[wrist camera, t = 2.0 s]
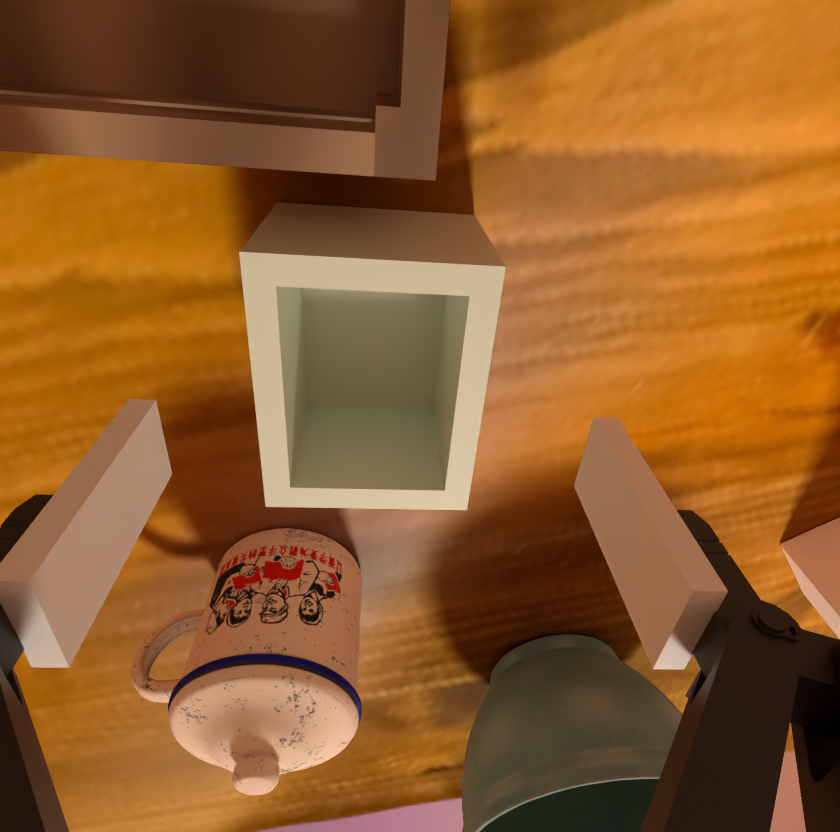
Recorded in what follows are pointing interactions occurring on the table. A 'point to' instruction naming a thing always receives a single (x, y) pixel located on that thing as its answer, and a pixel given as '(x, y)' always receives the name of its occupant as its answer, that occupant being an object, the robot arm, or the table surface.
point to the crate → (228, 82)
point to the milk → (818, 569)
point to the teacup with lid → (266, 659)
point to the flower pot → (565, 742)
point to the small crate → (369, 353)
